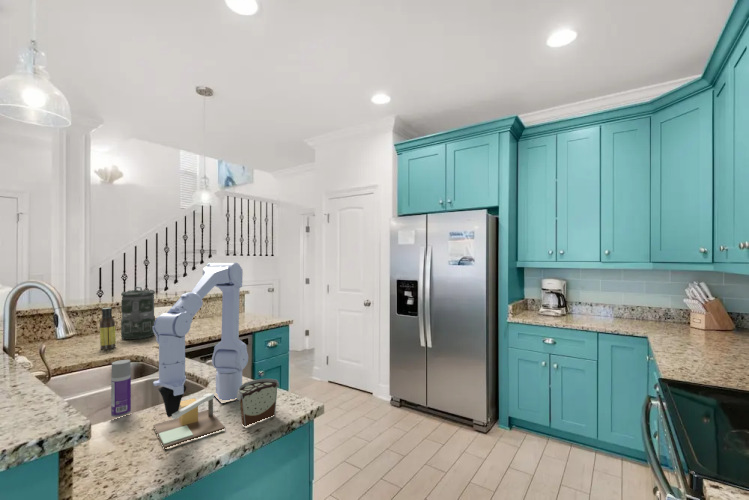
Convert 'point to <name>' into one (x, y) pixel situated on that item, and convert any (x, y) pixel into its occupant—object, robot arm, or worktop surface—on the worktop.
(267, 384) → the food container
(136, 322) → the green backpack
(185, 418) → the plug block
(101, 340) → the sauce bottle
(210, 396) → the strap
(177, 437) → the sage mat
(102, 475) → the worktop surface
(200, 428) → the brown tray
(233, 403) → the worktop surface
